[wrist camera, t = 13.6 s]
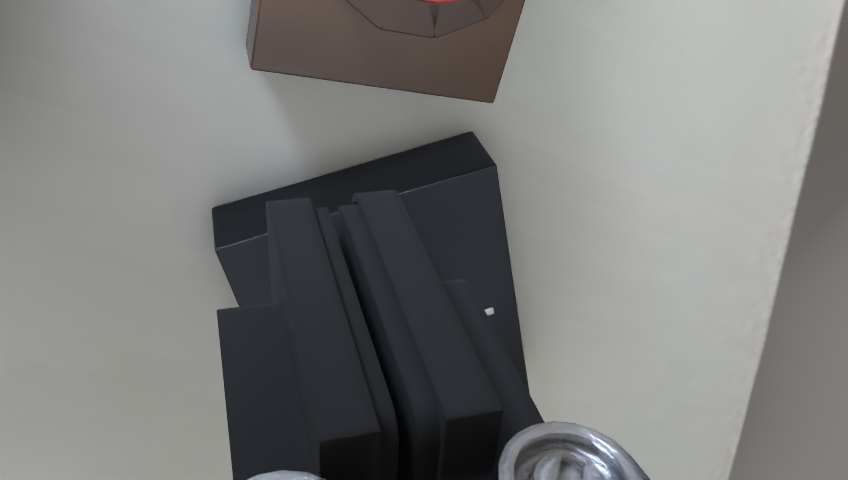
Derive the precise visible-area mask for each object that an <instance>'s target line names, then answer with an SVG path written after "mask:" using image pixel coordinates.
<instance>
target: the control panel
mask: <svg viewBox="0 0 848 480" xmlns="http://www.w3.org/2000/svg"><path fill="white" fill-rule="evenodd" d="M387 190H396V191H397V192H398V194H399V196H400V198H401V200H402V202H403V204H404V206H405V208H406V210H407V212H408V214H409V216H410V218H411V221H412V223H413V225H414V227H415V229H416V231H417V233H418V235H419V237H420V239H421V241H422V243H423V245H424V247H425V249H426V252H427V254H428V256H429V258H430V260H431V262H432V264H433V266H434V268H435V270H436V272H437V274H438V276H439V278H440V280H441V282H444V281H452V280H460V279H464V280H466V281H468V282H469V284H470V285H471V286H472V288H473V289H474V291H475V293H476V295H477V297H478V299H479V301H480V302H481V304H482V306H483V308H484V310H485V312H486V314H487V316H488V317H489V319H490V321H491V323H492V325H493V327H494V329H495V331H496V333H497V334H498V336H499V338H500V340H501V342H502V344H503V346H504V348H505V349H506V351H507V353H508V355H509V357H510V359H511V361H512V363H513V364H514V366H515V368H516V370H517V372H518V374H519V376H520V378H521V379H522V381H523V383H524V385H525V387H526V389H527V391H528V393H529V387H528V380H527V373H526V366H525V360H524V353H523V346H522V339H521V332H520V325H519V318H518V311H517V304H516V297H515V290H514V284H513V277H512V270H511V263H510V256H509V249H508V242H507V235H506V228H505V221H504V215H503V208H502V201H501V194H500V187H499V180H498V173H497V166H496V164H495V163H494V161H493V160H492V158H491V157H490V156H489V154H488V153H487V151H486V150H485V149H484V147H483V146H482V144H481V143H480V142H479V140H478V139H477V137H476V136H475V135H474V133H473V132H469V133H466V134H462V135H459V136H456V137H452V138H449V139H445V140H442V141H439V142H435V143H432V144H428V145H425V146H422V147H418V148H415V149H412V150H408V151H405V152H401V153H398V154H395V155H391V156H388V157H385V158H381V159H378V160H374V161H371V162H368V163H364V164H361V165H358V166H354V167H351V168H347V169H344V170H341V171H337V172H334V173H331V174H327V175H324V176H320V177H317V178H314V179H310V180H307V181H304V182H300V183H297V184H293V185H290V186H287V187H283V188H280V189H277V190H273V191H270V192H266V193H263V194H260V195H256V196H253V197H250V198H246V199H243V200H239V201H236V202H233V203H229V204H226V205H223V206H219V207H216V208H213V209H212V217H213V231H214V244H215V251H216V254H217V256H218V258H219V261H220V263H221V265H222V268H223V270H224V272H225V275H226V277H227V279H228V282H229V284H230V286H231V288H232V291H233V293H234V295H235V298H236V300H237V302H238V305H239V307H244V306H252V305H260V304H268V303H272V295H271V280H270V264H269V249H268V233H267V218H266V202H267V201H278V200H289V199H300V198H310V200H311V203H312V206H313V208H323V207H327V208H328V211H329V213H330V216H331V219H332V222H333V225H334V228H335V231H336V234H337V237H338V208H339V206H344V205H352V198H353V195H354V193H365V192H376V191H387Z"/></svg>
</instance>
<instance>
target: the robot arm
mask: <svg viewBox="0 0 848 480" xmlns="http://www.w3.org/2000/svg"><path fill="white" fill-rule="evenodd" d="M266 218H267V233H268V249H269V264H270V280H271V295H272V303H268V304H260V305H252V306H244V307H236V308H228V309H220V310H217V317H218V327H219V338H220V348H221V358H222V369H223V379H224V389H225V399H226V410H227V420H228V430H229V440H230V451H231V461H232V471H233V480H650V479H649V477H648V476H647V475H646V474H645V473H644V471H643V470H642V469H641V468H640V467H639V465H638V464H637V463H636V462H635V460H634V459H633V458H632V457H631V456H630V455H629V454H628V453H627V452H626V451H625V450H624V449H623V448H622V447H621V446H620V445H619V444H618V443H617V442H616V441H614V440H613V439H611V438H609V437H607V436H606V435H604V434H602V433H600V432H599V431H597V430H595V429H592V428H589V427H586V426H582V425H579V424H576V423H568V422H555V421H552V422H546V423H544V421H543V419H542V417H541V415H540V413H539V411H538V410H537V408H536V406H535V404H534V402H533V400H532V398H531V396H530V394H529V393H528V391H527V389H526V387H525V385H524V383H523V381H522V379H521V378H520V376H519V374H518V372H517V370H516V368H515V366H514V364H513V363H512V361H511V359H510V357H509V355H508V353H507V351H506V349H505V348H504V346H503V344H502V342H501V340H500V338H499V336H498V334H497V333H496V331H495V329H494V327H493V325H492V323H491V321H490V319H489V317H488V316H487V314H486V312H485V310H484V308H483V306H482V304H481V302H480V301H479V299H478V297H477V295H476V293H475V291H474V289H473V288H472V286H471V285H470V284H469V282H468V281H466V280H464V279H460V280H452V281H444V282H441V280H440V278H439V276H438V274H437V272H436V270H435V268H434V266H433V264H432V262H431V260H430V258H429V256H428V254H427V252H426V249H425V247H424V245H423V243H422V241H421V239H420V237H419V235H418V233H417V231H416V229H415V227H414V225H413V223H412V221H411V218H410V216H409V214H408V212H407V210H406V208H405V206H404V204H403V202H402V200H401V198H400V196H399V194H398V192H397V191H396V190H387V191H376V192H365V193H354V195H353V198H352V205H344V206H339V208H338V237H337V234H336V231H335V228H334V225H333V222H332V219H331V216H330V213H329V211H328V208H327V207H323V208H313V206H312V203H311V200H310V198H300V199H289V200H278V201H267V202H266Z"/></svg>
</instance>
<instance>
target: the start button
mask: <svg viewBox="0 0 848 480" xmlns="http://www.w3.org/2000/svg"><path fill="white" fill-rule="evenodd" d="M423 1H427V2H434V3H448V2H454V1H457V0H423Z"/></svg>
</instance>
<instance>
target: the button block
mask: <svg viewBox="0 0 848 480" xmlns="http://www.w3.org/2000/svg"><path fill="white" fill-rule="evenodd" d="M524 2H525V0H457V1H454V2H448V3H434V2H427V1H423V0H252V4H251V11H250V19H249V26H248V34H247V41H246V49H247V54H248V58H249V63H250V67H251V69H253V70H259V71H267V72H274V73H281V74H288V75H295V76H302V77H309V78H316V79H323V80H331V81H338V82H345V83H352V84H359V85H366V86H373V87H380V88H387V89H395V90H402V91H409V92H416V93H423V94H430V95H437V96H444V97H452V98H459V99H466V100H473V101H480V102H487V103H493V102H494V99H495V96H496V93H497V90H498V86H499V83H500V80H501V77H502V73H503V70H504V67H505V64H506V60H507V57H508V54H509V51H510V47H511V44H512V41H513V38H514V34H515V31H516V28H517V25H518V21H519V18H520V15H521V12H522V8H523V5H524Z"/></svg>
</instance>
